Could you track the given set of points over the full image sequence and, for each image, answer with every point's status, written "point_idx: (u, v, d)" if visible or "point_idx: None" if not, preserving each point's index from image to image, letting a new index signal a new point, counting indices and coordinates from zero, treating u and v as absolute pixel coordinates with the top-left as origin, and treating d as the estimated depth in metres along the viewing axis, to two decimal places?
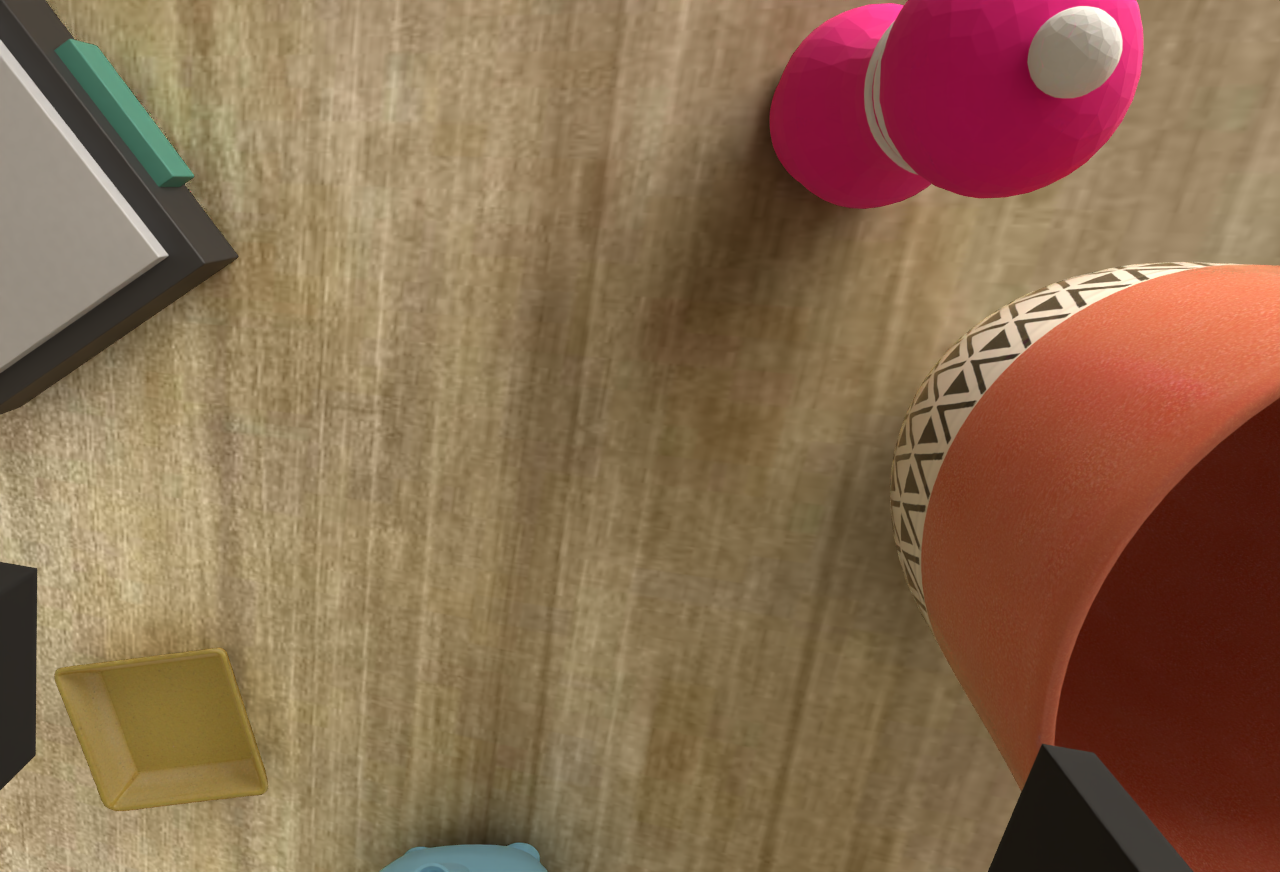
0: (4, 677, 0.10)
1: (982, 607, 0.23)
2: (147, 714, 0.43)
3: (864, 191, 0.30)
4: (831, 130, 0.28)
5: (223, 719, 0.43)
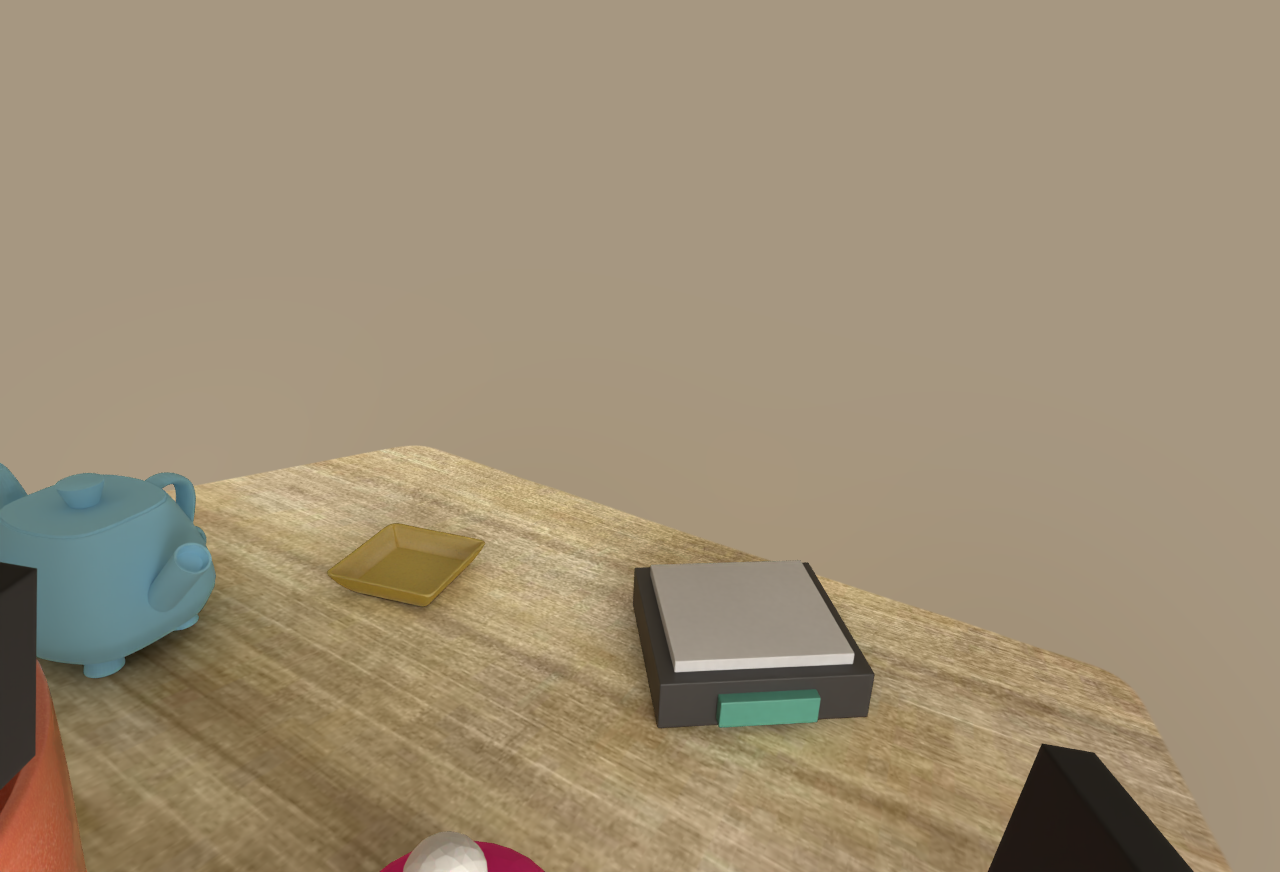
0: (4, 677, 0.10)
1: None
2: (424, 564, 0.64)
3: None
4: None
5: None
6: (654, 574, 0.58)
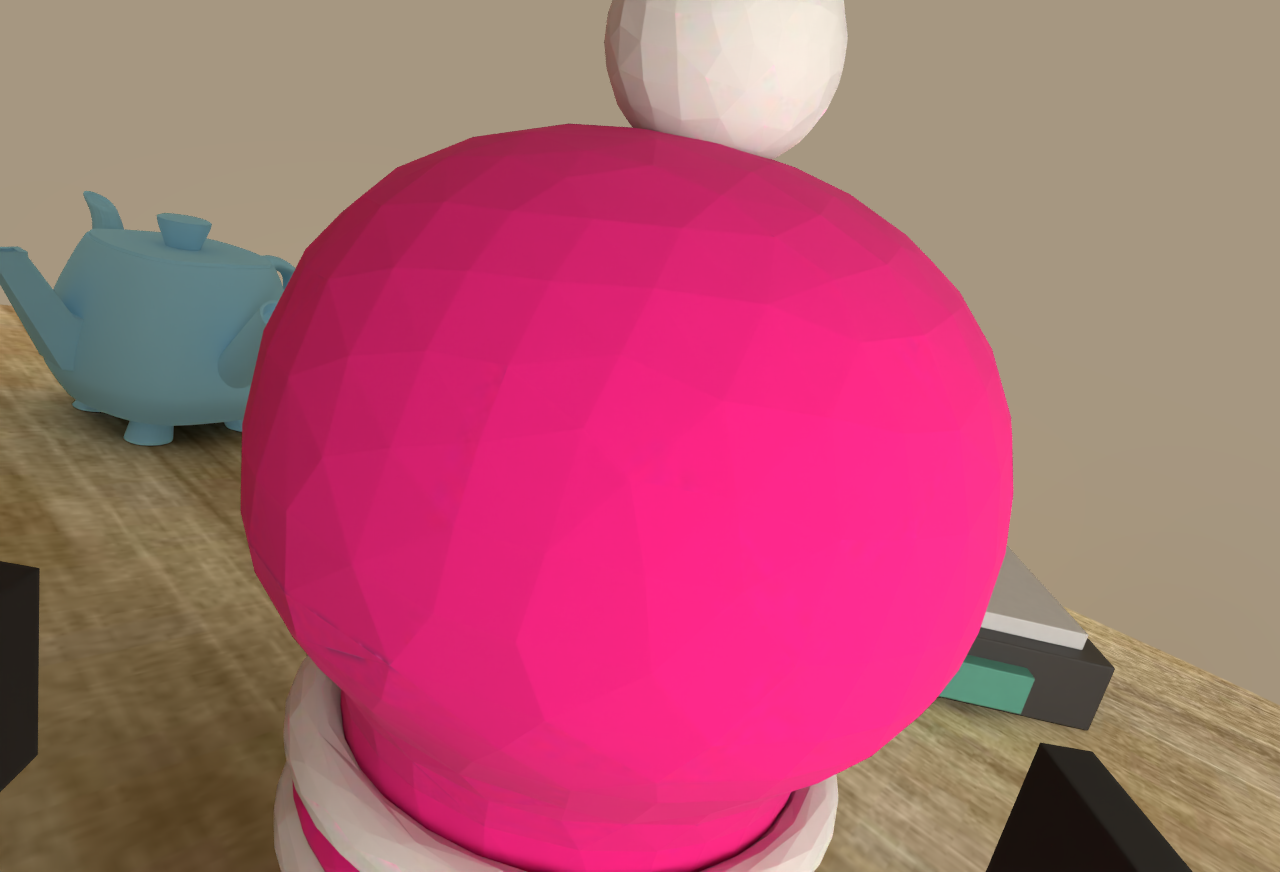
0: (6, 676, 0.10)
1: None
2: None
3: None
4: None
5: None
6: None
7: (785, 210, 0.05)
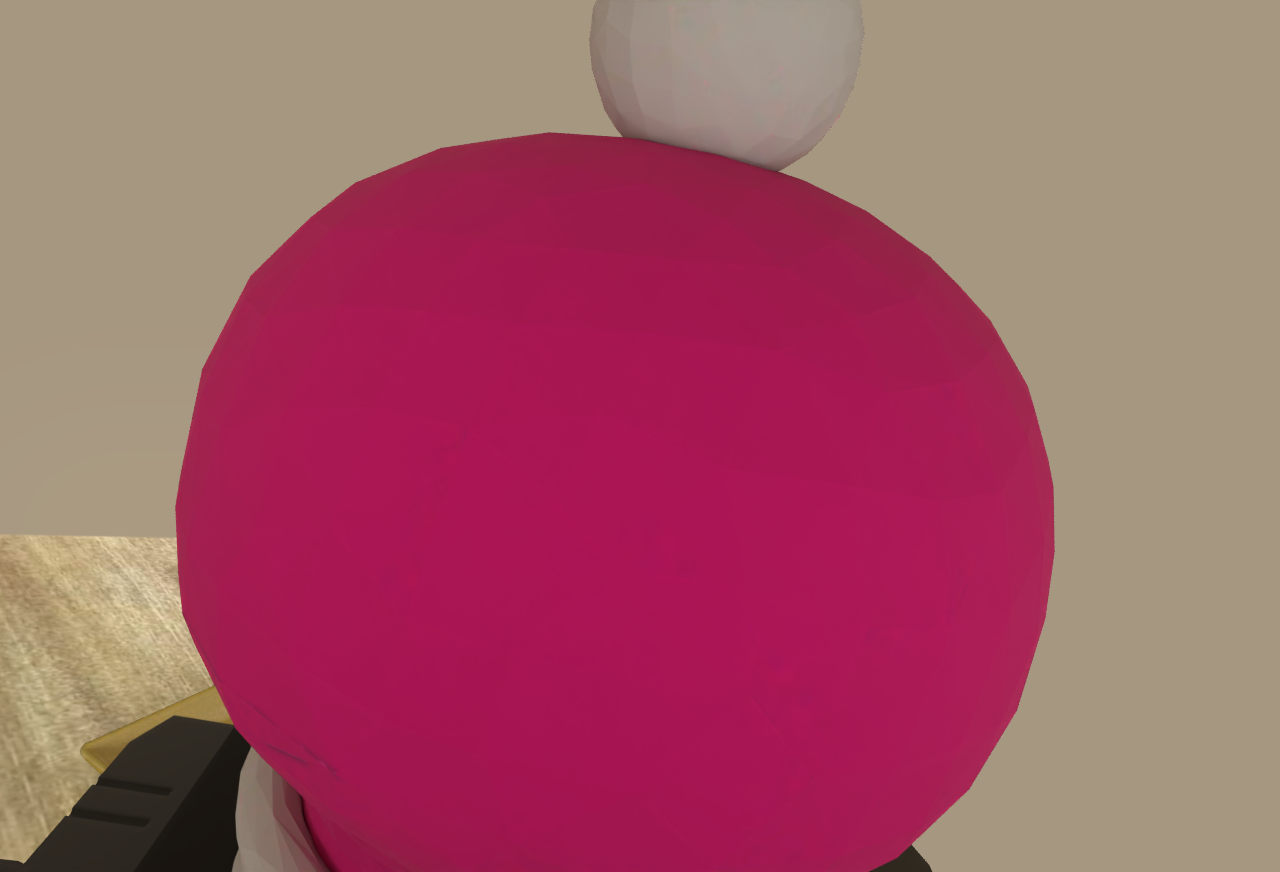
0: None
1: None
2: None
3: None
4: None
5: None
6: None
7: (795, 235, 0.04)
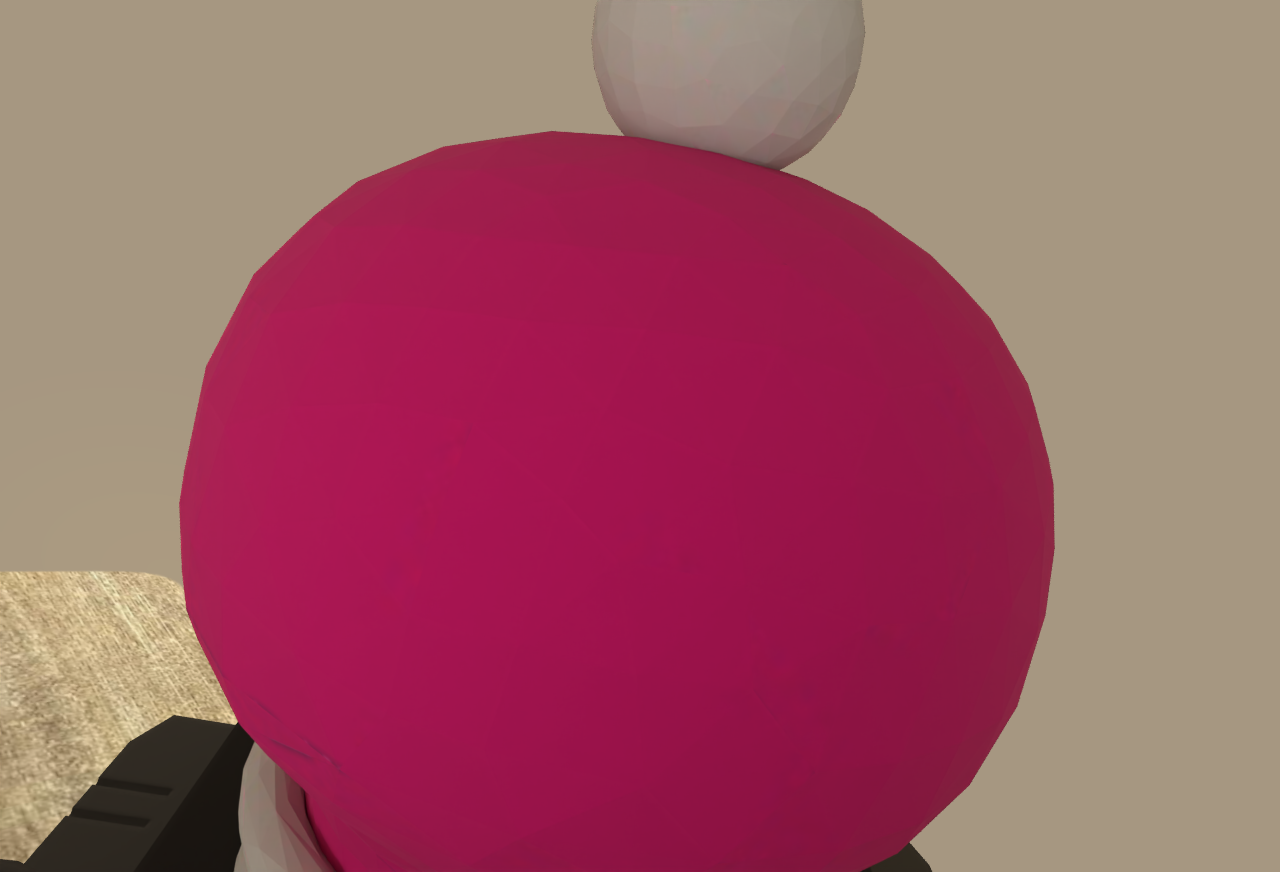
0: None
1: None
2: None
3: None
4: None
5: None
6: None
7: (798, 234, 0.04)
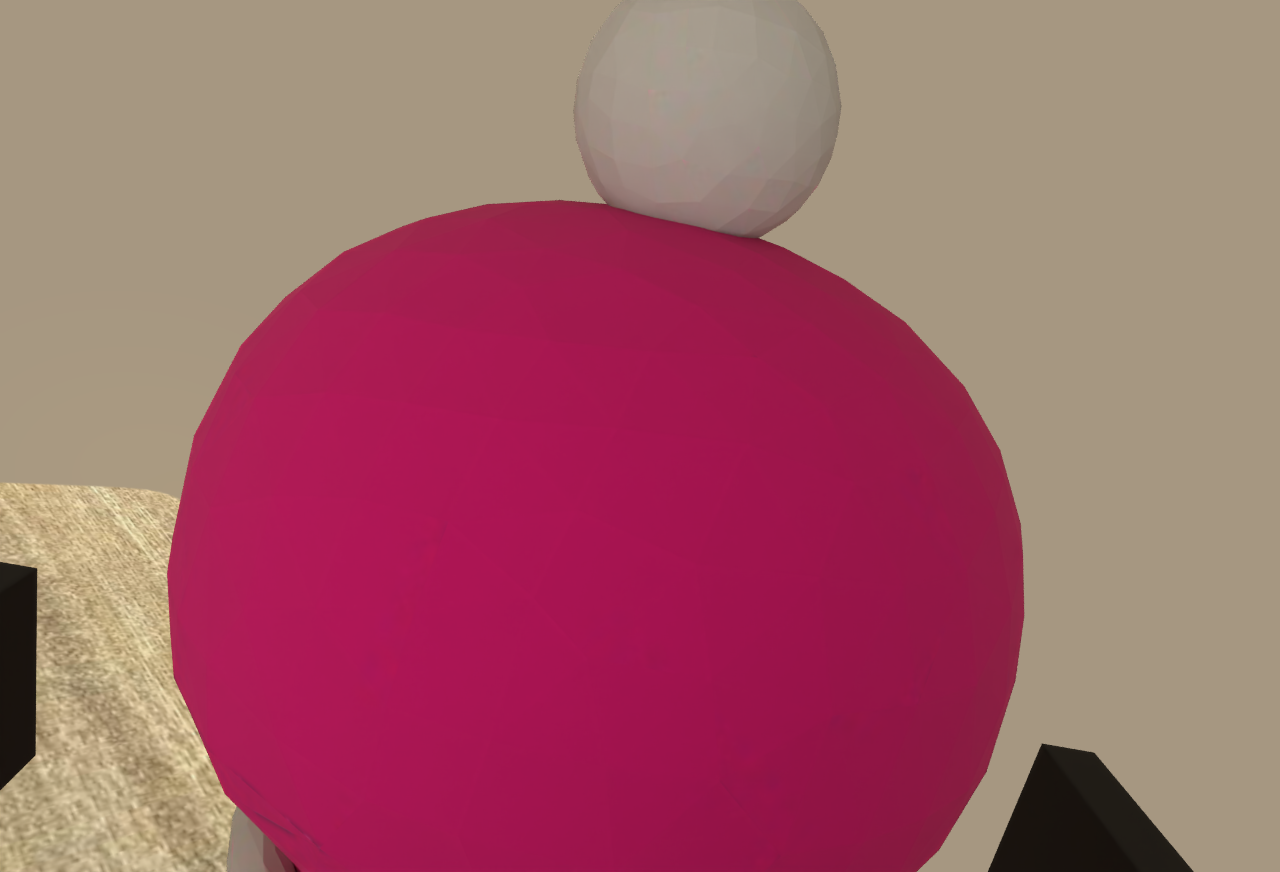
0: (4, 677, 0.10)
1: None
2: None
3: None
4: None
5: None
6: None
7: (767, 321, 0.04)
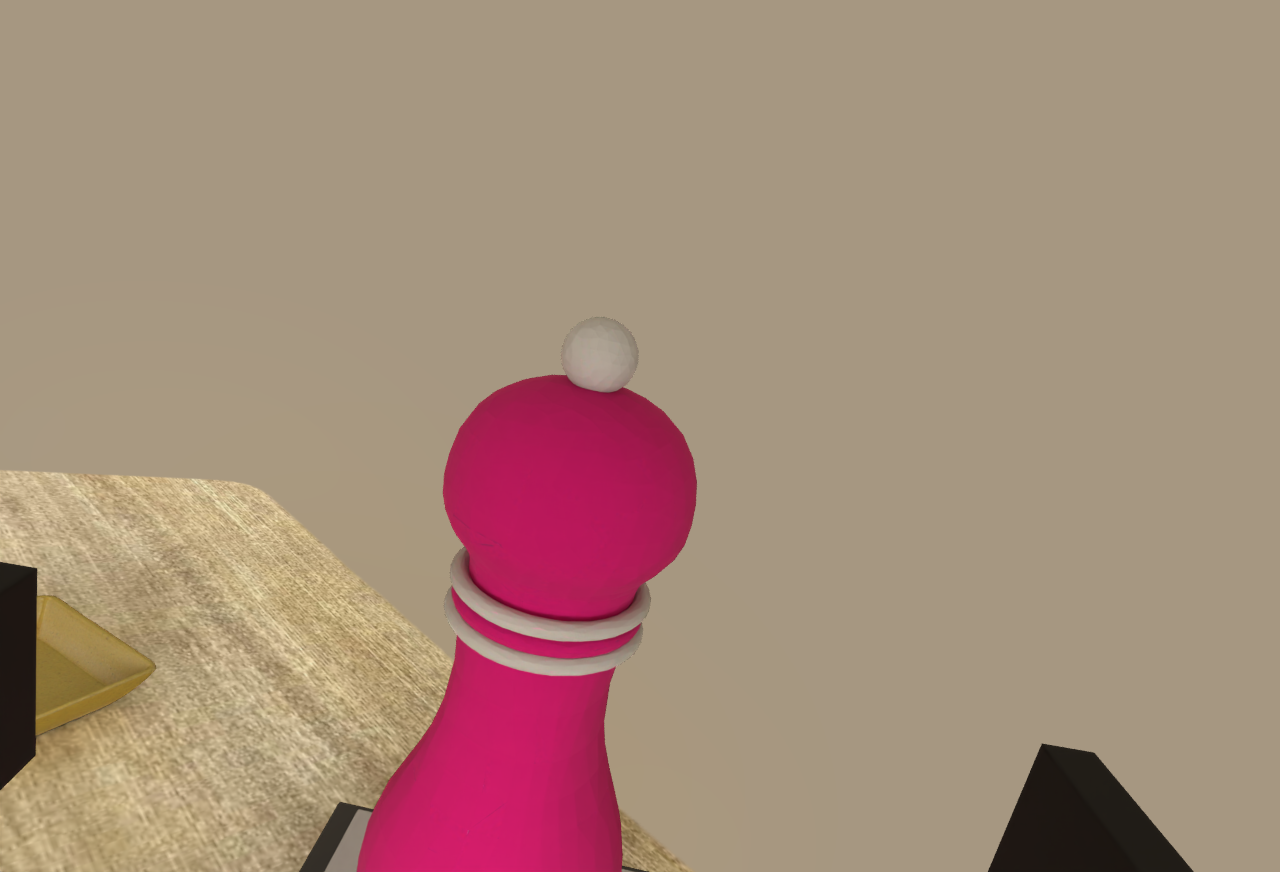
0: (4, 677, 0.10)
1: None
2: (42, 680, 0.37)
3: None
4: None
5: None
6: (346, 836, 0.28)
7: (607, 423, 0.18)
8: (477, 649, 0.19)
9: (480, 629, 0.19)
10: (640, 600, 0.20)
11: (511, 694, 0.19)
